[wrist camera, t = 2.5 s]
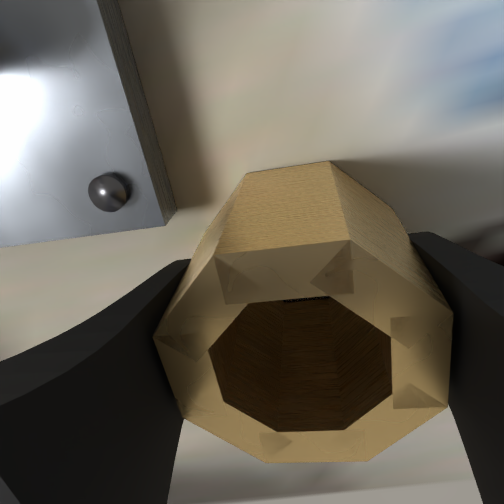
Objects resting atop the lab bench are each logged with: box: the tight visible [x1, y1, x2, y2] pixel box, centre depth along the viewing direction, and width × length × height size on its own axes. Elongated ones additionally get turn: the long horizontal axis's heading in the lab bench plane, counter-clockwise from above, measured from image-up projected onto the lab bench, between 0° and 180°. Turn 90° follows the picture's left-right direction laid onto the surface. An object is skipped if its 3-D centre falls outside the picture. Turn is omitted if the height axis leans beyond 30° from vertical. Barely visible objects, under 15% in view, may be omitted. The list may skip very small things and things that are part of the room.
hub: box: [152, 161, 453, 463], centre depth 10 cm, size 6×6×5 cm
